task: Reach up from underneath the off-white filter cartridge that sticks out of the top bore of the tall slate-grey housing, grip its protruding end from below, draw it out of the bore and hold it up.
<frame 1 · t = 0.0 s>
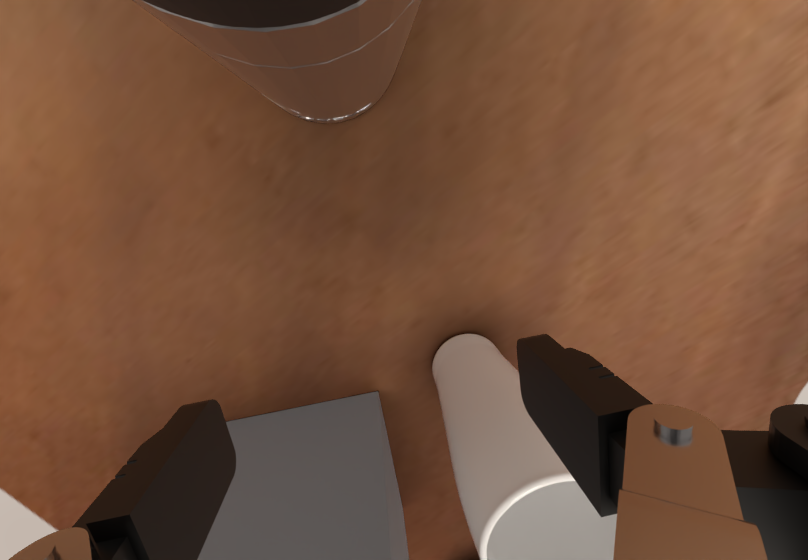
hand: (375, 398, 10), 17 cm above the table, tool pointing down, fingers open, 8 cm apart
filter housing: (318, 468, 31), on the table
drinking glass: (463, 360, 30), on the table
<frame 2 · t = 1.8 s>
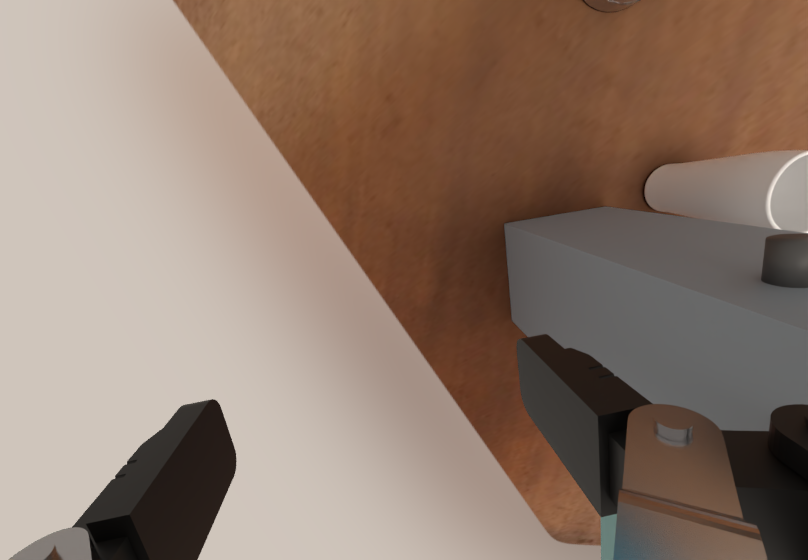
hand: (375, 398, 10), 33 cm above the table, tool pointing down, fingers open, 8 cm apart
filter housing: (557, 265, 45), on the table
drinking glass: (662, 187, 44), on the table
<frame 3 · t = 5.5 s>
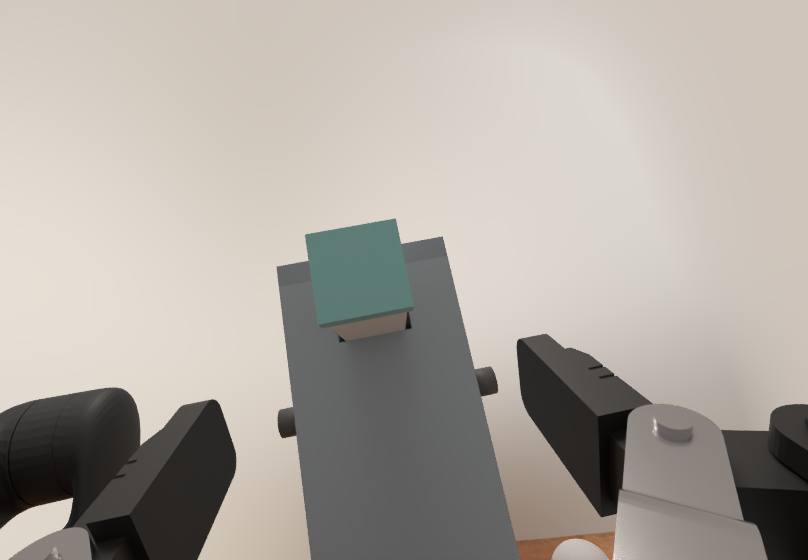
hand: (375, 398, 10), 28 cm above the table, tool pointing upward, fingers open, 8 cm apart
cartridge: (376, 337, 27), point 31 cm above the table, touching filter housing
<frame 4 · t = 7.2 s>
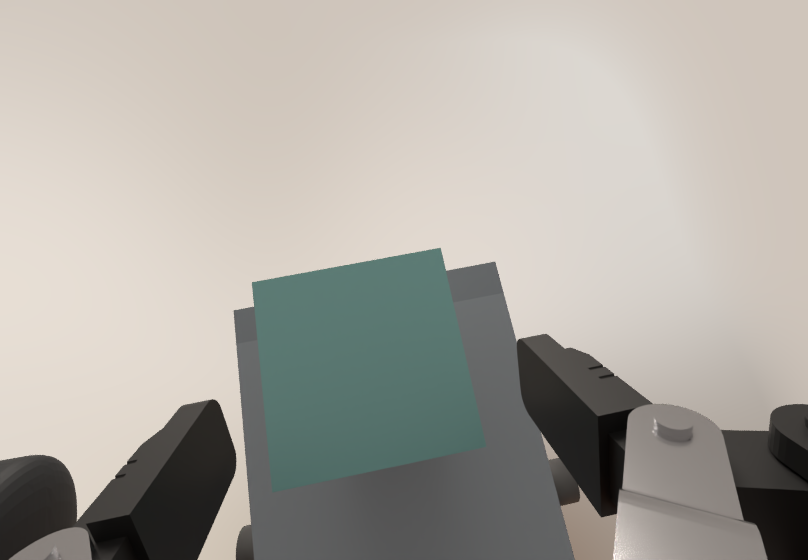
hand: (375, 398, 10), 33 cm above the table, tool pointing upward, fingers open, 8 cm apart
cartridge: (392, 423, 17), point 31 cm above the table, touching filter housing
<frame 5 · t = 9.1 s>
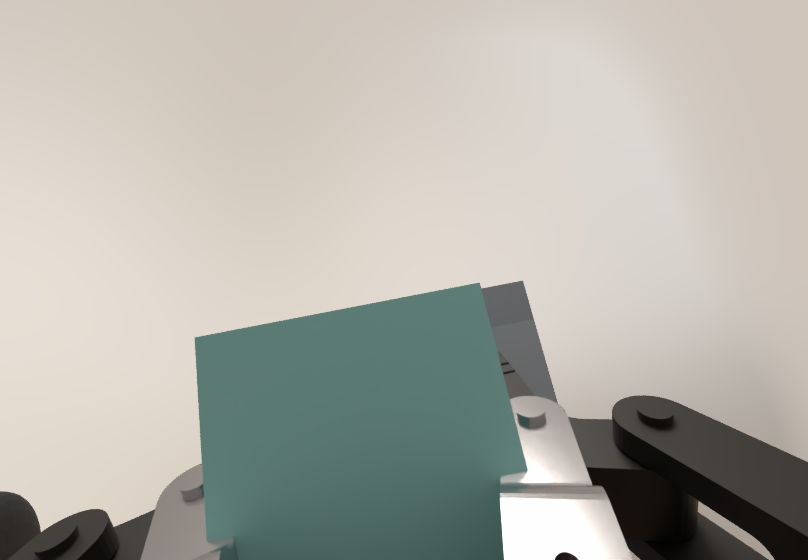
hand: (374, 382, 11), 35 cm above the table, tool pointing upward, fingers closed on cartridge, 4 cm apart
cartridge: (398, 481, 14), point 32 cm above the table, touching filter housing, gripper
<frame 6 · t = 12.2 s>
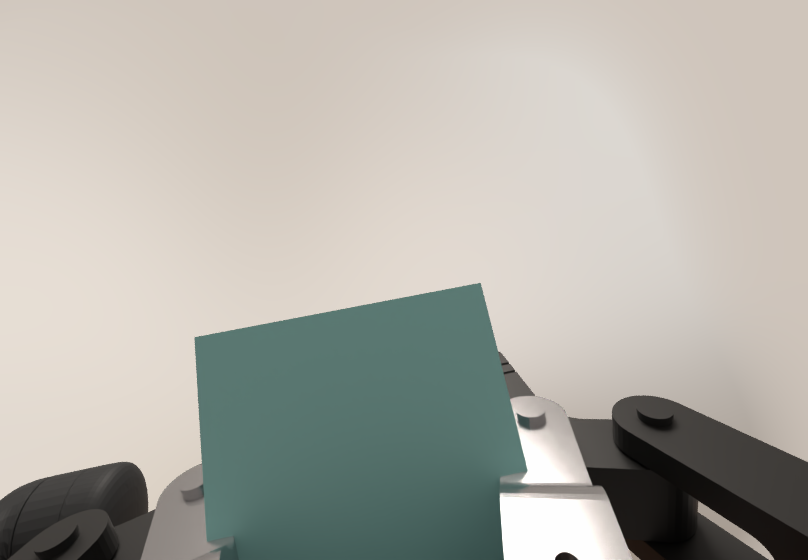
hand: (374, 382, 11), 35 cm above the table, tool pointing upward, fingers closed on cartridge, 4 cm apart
cartridge: (398, 478, 14), point 32 cm above the table, touching gripper
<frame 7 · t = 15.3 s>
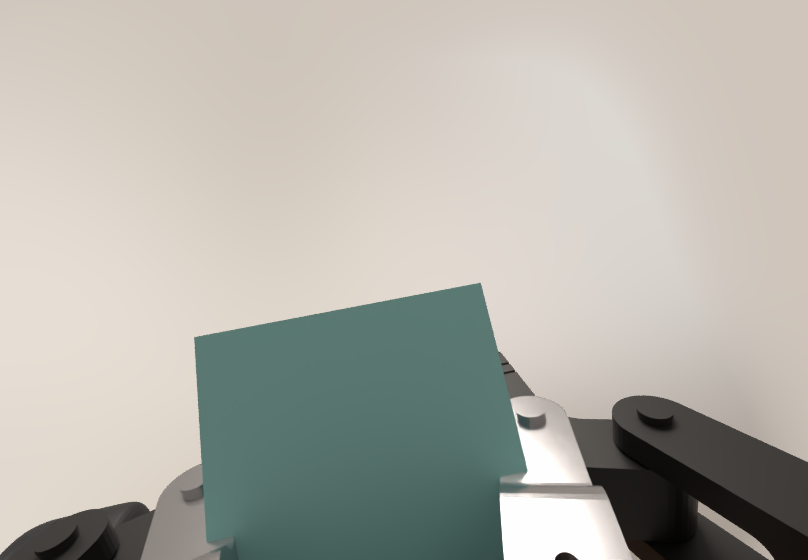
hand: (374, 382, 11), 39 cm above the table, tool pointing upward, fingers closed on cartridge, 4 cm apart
cartridge: (398, 478, 14), point 36 cm above the table, touching gripper
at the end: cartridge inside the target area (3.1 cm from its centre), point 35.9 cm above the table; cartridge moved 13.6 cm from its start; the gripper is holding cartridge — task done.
